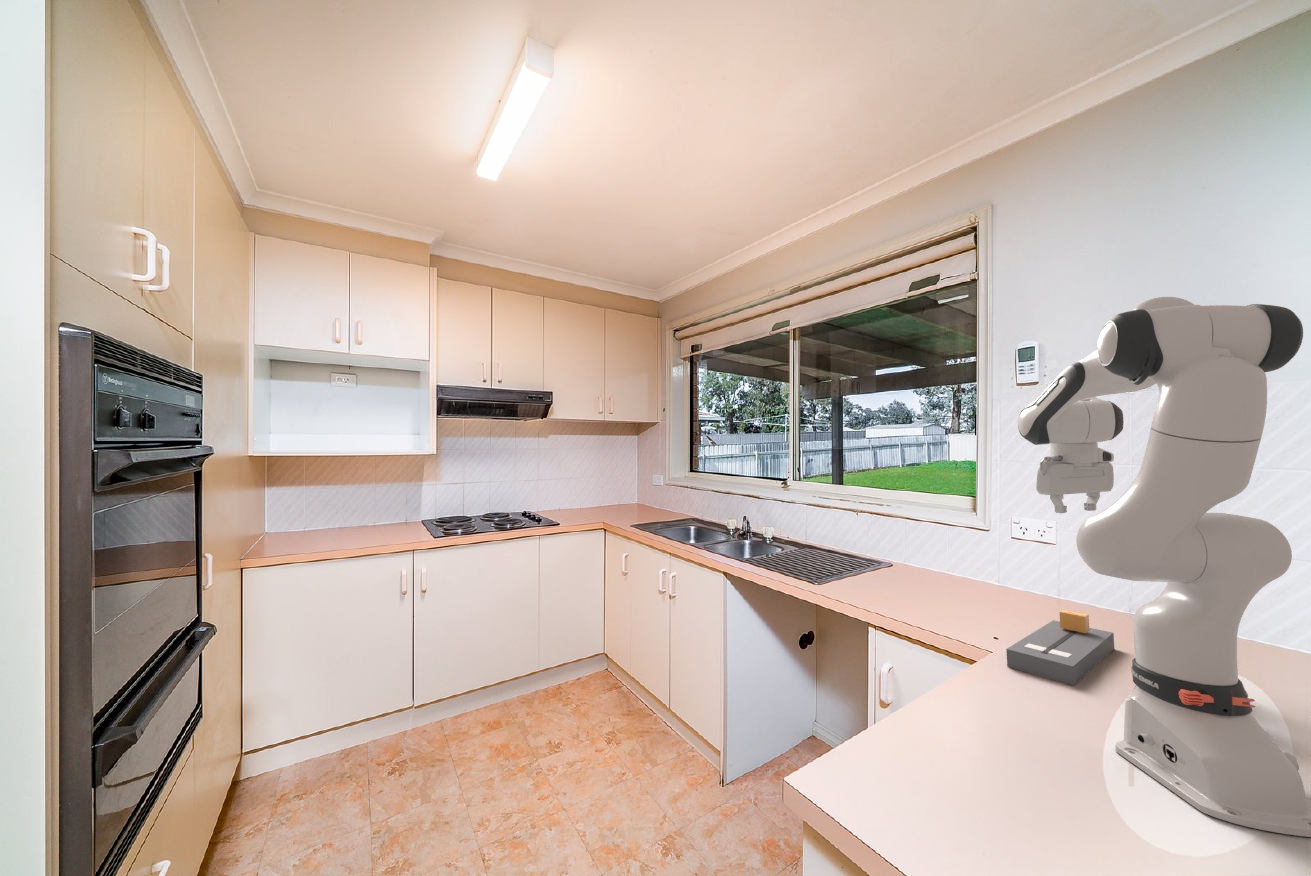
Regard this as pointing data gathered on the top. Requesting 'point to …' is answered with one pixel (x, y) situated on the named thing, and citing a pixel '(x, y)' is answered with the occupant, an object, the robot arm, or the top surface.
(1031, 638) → the fader console
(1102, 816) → the top surface
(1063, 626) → the fader knob
